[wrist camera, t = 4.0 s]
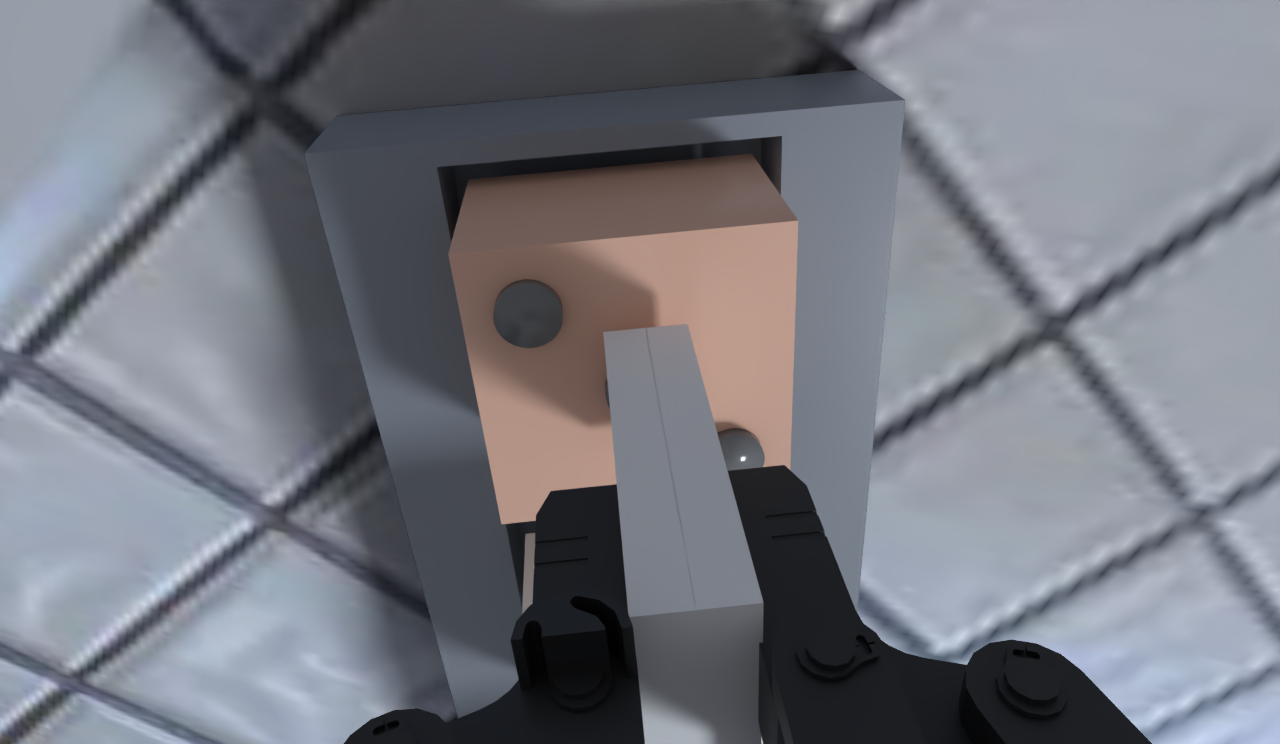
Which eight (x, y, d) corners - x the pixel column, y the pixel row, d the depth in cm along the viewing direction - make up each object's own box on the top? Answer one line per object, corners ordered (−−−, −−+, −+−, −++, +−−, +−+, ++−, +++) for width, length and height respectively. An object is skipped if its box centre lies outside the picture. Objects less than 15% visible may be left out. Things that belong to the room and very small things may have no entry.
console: (506, 799, 33) (502, 879, 30) (337, 115, 19) (303, 153, 17) (814, 761, 33) (836, 837, 30) (859, 69, 20) (904, 100, 17)
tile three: (509, 416, 21) (500, 534, 17) (468, 179, 18) (446, 261, 14) (750, 391, 21) (792, 502, 17) (751, 153, 18) (802, 226, 14)
